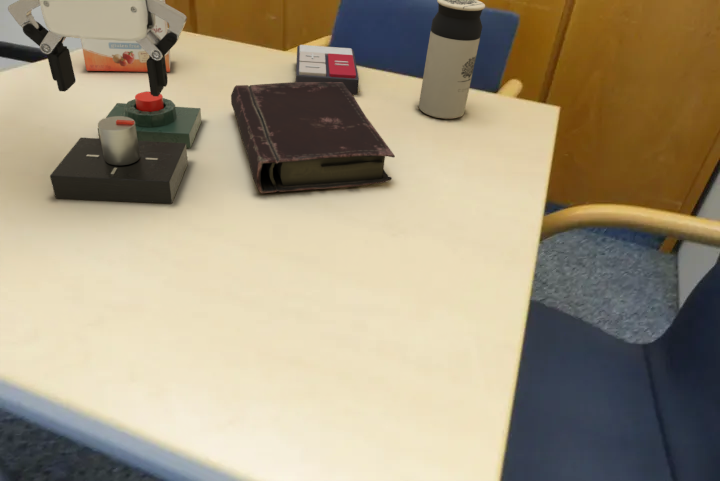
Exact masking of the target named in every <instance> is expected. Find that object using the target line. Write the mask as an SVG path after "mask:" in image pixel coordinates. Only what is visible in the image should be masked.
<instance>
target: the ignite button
mask: <svg viewBox="0 0 720 481" xmlns="http://www.w3.org/2000/svg"><path fill="white" fill-rule="evenodd" d="M163 98H164V96H163V94H162V93H160V94H159V96H153V95H151V92H150V91H142V92H138V93H137V94H135V96H134V99H135V101H136V107H137V110H140V111H146V112H153V111H159V110H161V109H164V104H163Z"/></svg>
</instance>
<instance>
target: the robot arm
mask: <svg viewBox="0 0 720 481" xmlns="http://www.w3.org/2000/svg"><path fill="white" fill-rule="evenodd" d="M38 7H40V11H41V14H42V19H43V21H44V24H45V26H46V28H45V27H44V26H43V25H42V24H41V23H40V22H38V21H37V20H35V16H33V14H32V11H33V10H34V9H36V8H38ZM7 11H8V12H9V14H10V15H11V17H12V18H13V19H14V20H15V21H16V23H17V24H18V25H19V26H20V27H21V28H22V32H23V33H24V35H25V36H26V37H28V38H29V39H30V40H31V41H32V42H33V43H35V44H36V45H37V46H39V50H40V52H42V53H43V54H45V55H46V57H47V60H48V65H49V69H50V74H51V77H52V79H53V81H56V86H57V89H58V91H59V92H67V91H68V90H69V89H70V88H72V86H73V85H75V84H76V76H75V71H74V67H73V62H72V57H71V53H70V52H71V51H70V49H69V48H68V46H66V45H64V41H65V40H66V39H67V38H72V39H73V38H74V39H80V38H85V39H101V40H117V41H136V42H137V43H138V44H139V45H140V46H141V47H142V48H143V49H144V50H145V51H146V52H147V53H148V54H149V59H148V60H147V71H148V72H147V77H148V83H149V84H148V86H149V92H151V95H153V96H159V94H162V91H163V90H164V88H166V87H167V86H168V72H167V71H166V63H165V54H166V53H167V52H168V51H169V50H170V51H171V49H172V48H173V47H174V46H175V45H176V44H177V43H178V41H179V40H180V37H181V34H182V32H183V30H184V27H185V26H186V23H187V19H188V17H187V15H185V13H183V12H181V11H179V10H178V9H176V8H174V7H173V6H171V5H169V4H167V3H166V2H165V3H164V2H162V1H160V0H17V1H15V2H13V3H11V4H9V5H8V7H7ZM155 15H156V16H158V17H160V18H162V19H164V20H165V21H167V25H168V31H167V34H166V35H165V36H164V37H163V38H162V39H161V38H160V37H159V36H158V35H157V34H156V33H155V32H154V30H153V28H154V26H155V23H156V19H155Z"/></svg>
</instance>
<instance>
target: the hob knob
mask: <svg viewBox="0 0 720 481" xmlns="http://www.w3.org/2000/svg"><path fill="white" fill-rule="evenodd" d="M98 129H99V134H100V139H101V144H102V150H103V155H104V160H105V161H106V162H107V163H109V164H111V165H119V166H121V165H129V164H132V163H135V162H136V161H138V160H139V159H140V152H139V145H138V138H137V132H136V125H135V121H134V120H133V119H131V118H129V117H124V116H114V117H108V118H106V117H105V118H102V119H100V120H99V121H98V123H97V130H98ZM99 134H98V135H99Z"/></svg>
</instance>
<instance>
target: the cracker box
mask: <svg viewBox="0 0 720 481" xmlns="http://www.w3.org/2000/svg"><path fill="white" fill-rule="evenodd" d="M160 1H162V2H164V3H165V4H166V0H160ZM155 19H156V23H155V26H154V28H153V30H154V32H155V33H156V34H157V35H158V36H159V37H160V38H161V39H162V38H163V37H164V36H165V35H166V34H167V31H168V29H169V24H168V22H167V21H165V20H164V19H162V18H160V17H158V16H156V15H155ZM79 39H80V43H81V48H82V49H81V50H82V54H83V58H84V59H83V60H84V65H85V70H86V71H87V72H141V73H143V72H144V73H148V71H147V60H148V59H149V54H148V53H147V52H146V51H145V50H144V49H143V48H142V47H141V46H140V45H139V44H138V43H137V42H136V41H117V40H101V39H85V38H79ZM171 62H172V59H171V49H170V50H169V51H168V52H167V53H166V54H165V63H166V71H167V73H171Z"/></svg>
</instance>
